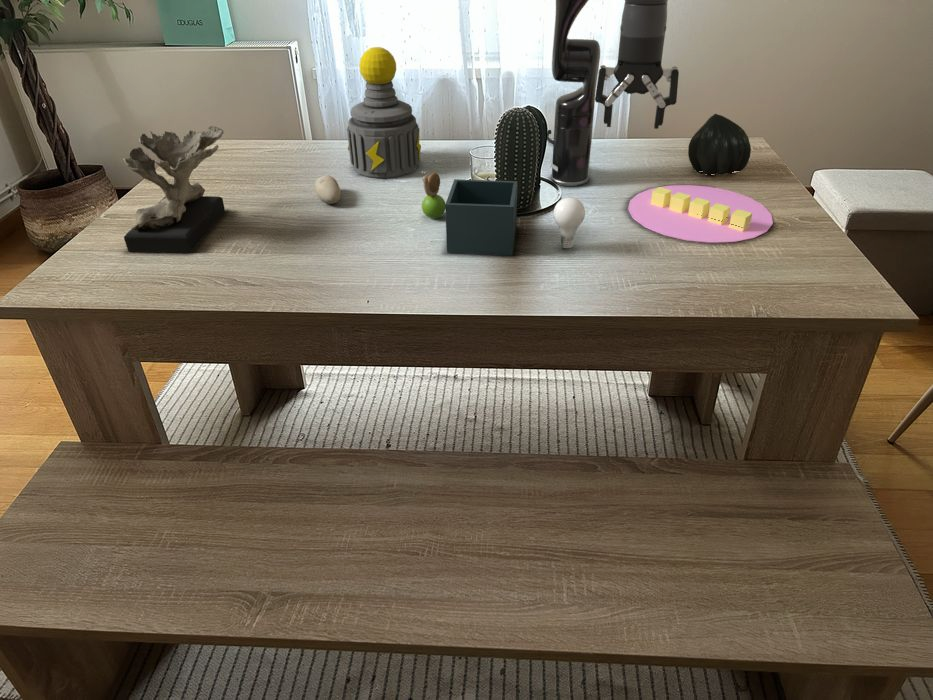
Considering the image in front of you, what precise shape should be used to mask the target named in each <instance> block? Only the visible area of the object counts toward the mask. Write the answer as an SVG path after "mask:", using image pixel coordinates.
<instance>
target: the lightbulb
mask: <svg viewBox="0 0 933 700" xmlns="http://www.w3.org/2000/svg"><path fill="white" fill-rule="evenodd" d="M552 213H553V219H554V221H555V223H556V224H557V226H558V228H559V233H560V247H561V248H562V249H565V250H568V249H572V248H573V247H574V241H575V235H576V233H577V230H578V228H579V227H580V226H581V224H582V223H583V221H584V219H585V216H586V209H585V206H584V204H583V203H582V201H581V200H579V199H577V198H576V197H573V196H572V197H571V196H567V197H564V198H562V199H560V200H558V201H557V203H556V204H555V206H554V208H553V212H552Z"/></svg>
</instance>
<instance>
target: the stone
mask: <svg viewBox="0 0 933 700" xmlns="http://www.w3.org/2000/svg"><path fill="white" fill-rule="evenodd" d="M314 190H315V193H316V196H317V197H318V198H319V200H321V201H322V202H324V203H326V204H328V205H329V204H331V205H332V204H336V203H338V202H339V201H340V200H341V195H342V192H341V188H340V185H339V183H338V181H337V179H335V178H334V176H332V175H328V174H326V175H322V176H320V177H319V178H317V179H316V181H315V183H314Z"/></svg>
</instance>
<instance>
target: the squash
mask: <svg viewBox="0 0 933 700" xmlns="http://www.w3.org/2000/svg"><path fill="white" fill-rule="evenodd" d="M687 148H688V149H687V156H688V160H689V162H690V164H691V167H692V169H693V170H694V171H695V170H696V171H695V173H698V174H700V175H705V174H707V175H705V176H706V177H710V178H711V177H715V176H716V175H719V174H720V175H719V176H724V175H736V174H739V172H737V173H732V172H734V171H740V172H742V171H743V170H744V169H745V168H746V167H747V165H748V163H749V161H750V158H751V152H752V147H751V143H750V139H749V136H748V134H747V133H746V131H745V130H744V128H742V127H741V126H740V125H739V124H738V123H736V122H734V121H733V120H731V119H729V118H727V117H725V116H723V115H721V114H718V113H714V114H712V115H711V116H710V117H709V118H708V119H707V120H706V121H705V122H704V124H703V125H702V126H701V127H700V128H699V129H698V130H697V131H696V132H695V133H694V135H693V136H692V138H690V141H689V143H688V147H687ZM741 170H742V171H741ZM699 171H703V172H699ZM716 173H717V174H716ZM711 174H715V175H711Z"/></svg>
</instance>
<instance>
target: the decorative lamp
mask: <svg viewBox="0 0 933 700" xmlns="http://www.w3.org/2000/svg"><path fill="white" fill-rule="evenodd" d="M358 64H359V65H358V66H359V72H360V75H361V77H362V79H363V80H364V81H365V82H366V83H365V88H366V89H365V90H364V96H365V97H364V98H363V101H361V102H358V103H357V104H355V105H354V106H352V107H351V109H350V116H351V117H350V118H349V119H348V123H347V124H348V125H347V127H346V133H347V143H348V145H347V150H348V151H349V161H350V165H352V168H353V171H354V172H356V173H357V174H359V175H360V176H364V177H367V178H373V179H391V178H398V177H403V176H406V175H408V174H410V173H412V172H414V171H415V170H416V169H417V168H418V167H419V163H420V162H421V150H422V145H421V143H420V127H419V124H418V123H417V117H415V115H413V107H412V106H411V105H410V104H409V103H407V102H405V101H402V100H399V99H398V97H397V96H396V94H397V92H396V89H395V88H394V84H393V80H394V78H395V76H396V73H397V62H396V59H395V57H394V55H393V54H392V53H391V51H389V50H387V49H386V48H384V47H381V46H374V47H370V48H368V49H367V50H366V51H364V53H363V54H362V55H361V57H360V60H359V63H358Z"/></svg>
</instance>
